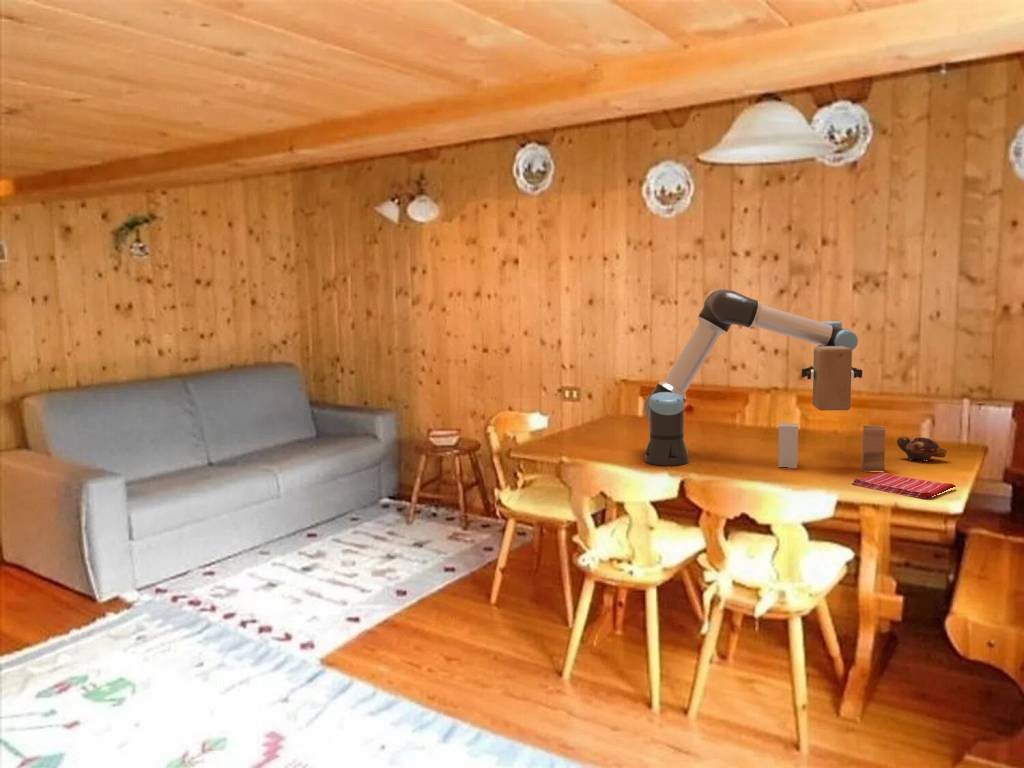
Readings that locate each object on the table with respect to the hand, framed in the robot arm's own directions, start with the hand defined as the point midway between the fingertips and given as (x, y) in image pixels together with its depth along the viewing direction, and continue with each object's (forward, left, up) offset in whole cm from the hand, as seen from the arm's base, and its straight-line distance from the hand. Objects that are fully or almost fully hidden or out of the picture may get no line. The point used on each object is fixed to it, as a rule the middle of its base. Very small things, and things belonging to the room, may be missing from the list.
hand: (832, 376), depth 259 cm
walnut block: (+8, -11, -31) cm, 34 cm away
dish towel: (-10, -24, -32) cm, 41 cm away
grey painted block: (0, +14, -31) cm, 34 cm away
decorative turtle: (+31, -21, -31) cm, 48 cm away
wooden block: (+4, +1, -11) cm, 12 cm away
